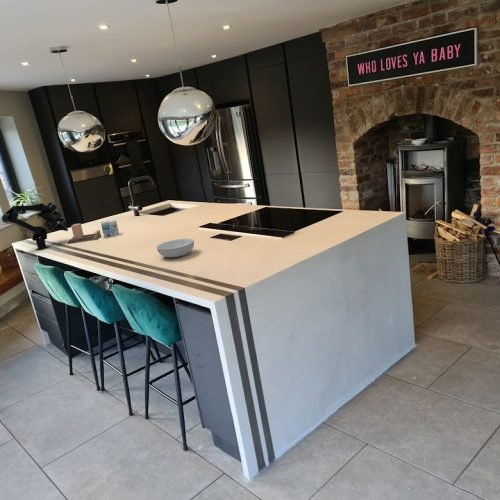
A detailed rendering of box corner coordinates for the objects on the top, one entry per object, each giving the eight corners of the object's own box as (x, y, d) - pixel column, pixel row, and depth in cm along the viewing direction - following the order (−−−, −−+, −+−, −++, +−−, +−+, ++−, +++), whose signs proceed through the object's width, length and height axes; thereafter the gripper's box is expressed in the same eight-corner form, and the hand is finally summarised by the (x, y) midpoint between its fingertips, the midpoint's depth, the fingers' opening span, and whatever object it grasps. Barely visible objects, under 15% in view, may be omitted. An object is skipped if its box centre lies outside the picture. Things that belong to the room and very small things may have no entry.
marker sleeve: (81, 238, 337) (78, 225, 334) (74, 239, 337) (71, 226, 334) (83, 236, 343) (80, 223, 340) (77, 237, 343) (73, 224, 340)
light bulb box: (104, 238, 336) (100, 223, 333) (104, 236, 343) (100, 222, 340) (119, 235, 339) (116, 220, 336) (119, 233, 345) (116, 219, 342)
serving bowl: (197, 247, 274) (195, 236, 273) (194, 257, 254) (192, 245, 252) (161, 252, 275) (159, 241, 273) (155, 263, 254) (153, 251, 253)
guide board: (97, 239, 335) (95, 233, 334) (67, 244, 335) (66, 237, 334) (101, 235, 346) (99, 229, 345) (72, 240, 345) (71, 234, 344)
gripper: (49, 210, 324) (69, 224, 327) (59, 206, 342) (77, 219, 345) (41, 223, 326) (61, 236, 329) (50, 218, 344) (69, 231, 347)
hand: (67, 230), depth 338 cm, fingers closed
